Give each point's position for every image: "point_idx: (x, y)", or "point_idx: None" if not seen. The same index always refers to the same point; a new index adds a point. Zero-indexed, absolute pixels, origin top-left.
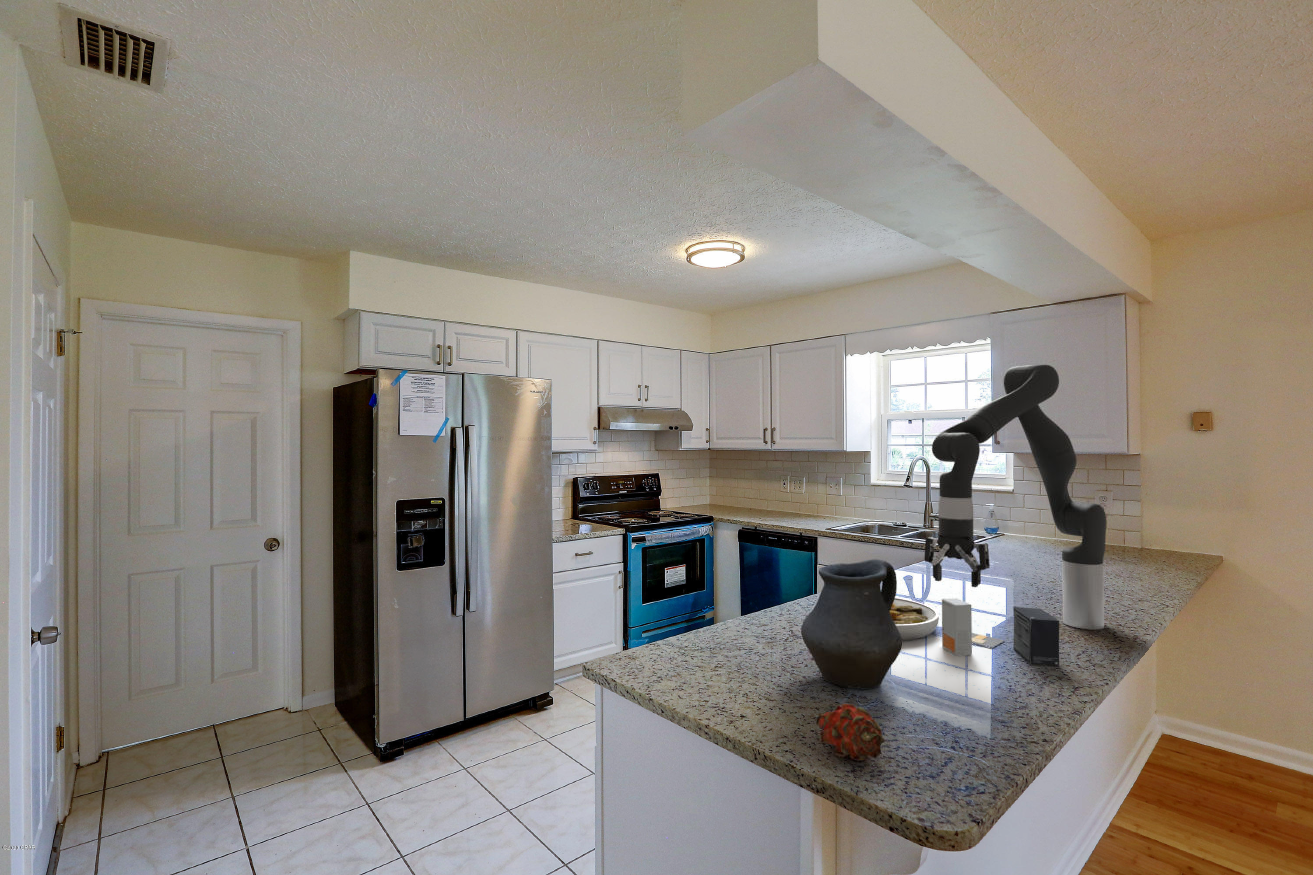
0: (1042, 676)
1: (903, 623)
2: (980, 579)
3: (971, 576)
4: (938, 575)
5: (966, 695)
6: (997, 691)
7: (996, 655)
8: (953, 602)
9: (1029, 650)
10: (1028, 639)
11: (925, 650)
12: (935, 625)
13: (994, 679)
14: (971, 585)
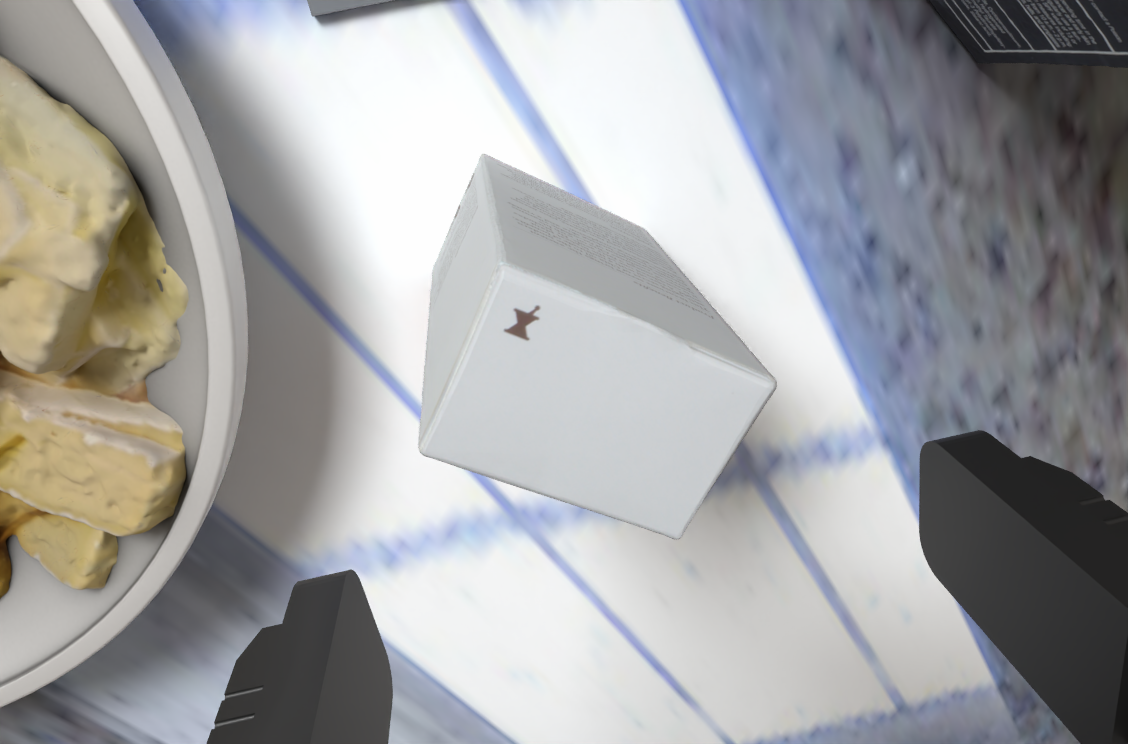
0: (1084, 207)
1: (175, 483)
2: (1110, 512)
3: (1034, 688)
4: (375, 733)
5: (899, 701)
6: None
7: (751, 81)
8: (606, 477)
9: (1037, 58)
10: (1086, 43)
11: None
12: (186, 94)
13: (912, 468)
14: (932, 569)
